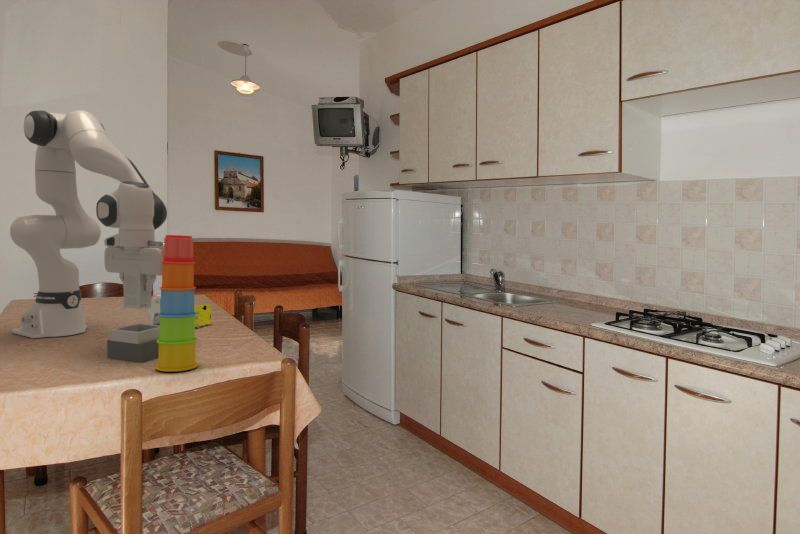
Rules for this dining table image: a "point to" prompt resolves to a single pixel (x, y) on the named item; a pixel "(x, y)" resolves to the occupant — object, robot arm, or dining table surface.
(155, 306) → the beer glass
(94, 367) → the dining table surface
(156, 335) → the grey open cubby box
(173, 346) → the stacking cups
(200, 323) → the yellow toy chassis
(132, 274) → the skincare box
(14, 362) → the dining table surface
